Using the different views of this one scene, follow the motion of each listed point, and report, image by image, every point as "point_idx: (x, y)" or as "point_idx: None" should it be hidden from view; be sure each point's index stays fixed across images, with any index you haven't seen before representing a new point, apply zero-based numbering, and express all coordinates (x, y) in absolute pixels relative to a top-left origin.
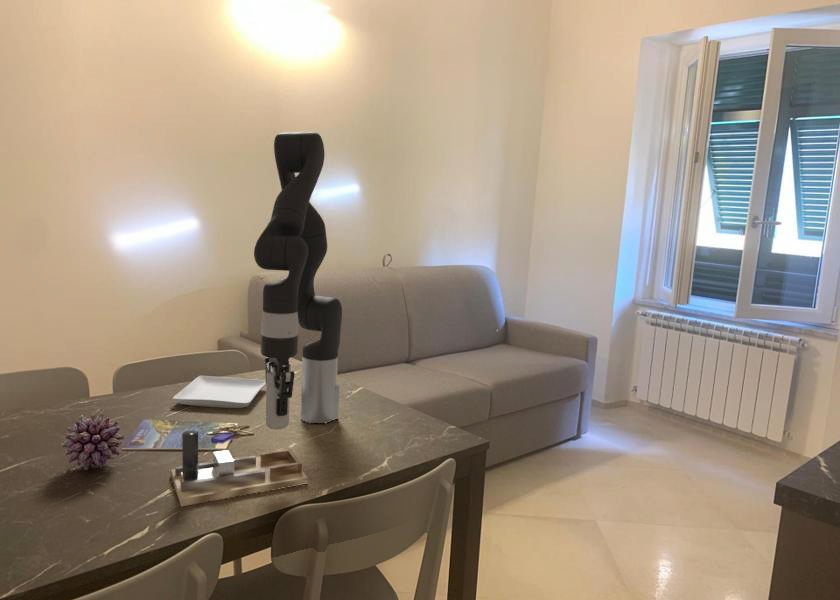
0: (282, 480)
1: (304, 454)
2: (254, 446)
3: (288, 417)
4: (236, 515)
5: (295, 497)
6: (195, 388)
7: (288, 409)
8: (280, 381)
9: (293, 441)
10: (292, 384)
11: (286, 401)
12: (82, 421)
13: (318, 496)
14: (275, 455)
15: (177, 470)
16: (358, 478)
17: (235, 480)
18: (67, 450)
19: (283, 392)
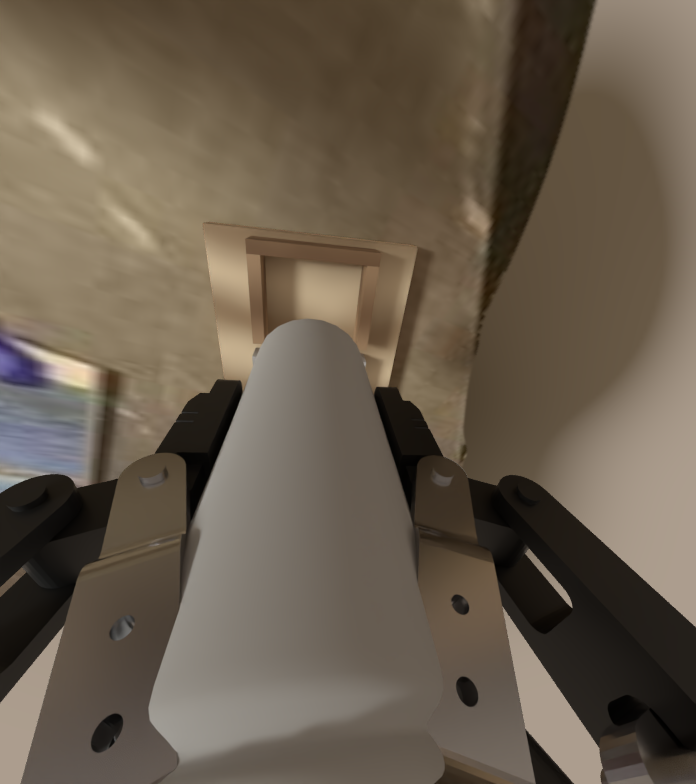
0: (393, 319)
1: (182, 136)
2: (81, 290)
3: (349, 346)
4: (442, 420)
5: (452, 304)
6: None
7: (356, 371)
8: (595, 723)
9: (19, 112)
10: (689, 632)
11: (440, 455)
12: None
13: (485, 248)
14: (263, 298)
15: None
16: (478, 20)
17: None
18: None
19: (511, 559)
